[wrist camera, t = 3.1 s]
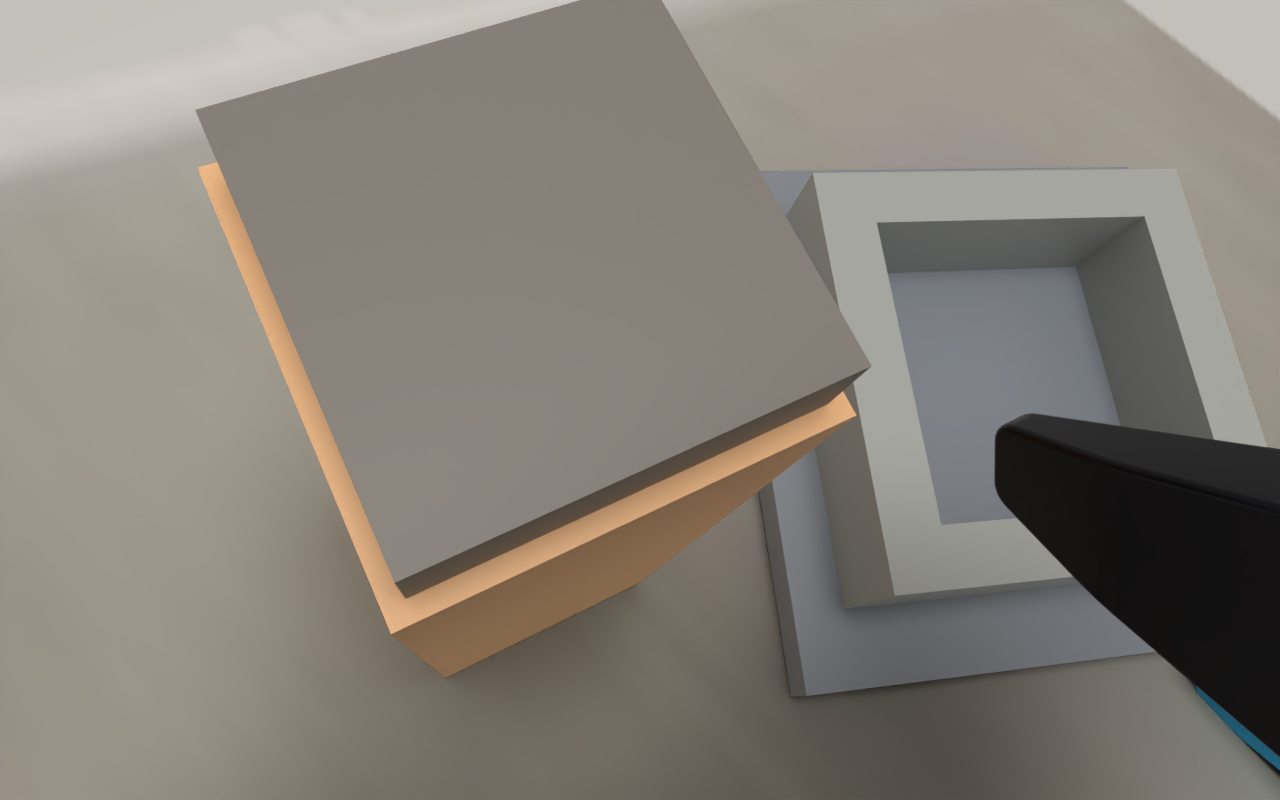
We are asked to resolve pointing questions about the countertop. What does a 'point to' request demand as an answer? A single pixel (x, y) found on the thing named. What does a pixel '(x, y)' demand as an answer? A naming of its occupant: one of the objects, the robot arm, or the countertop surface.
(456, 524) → the block
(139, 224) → the countertop surface
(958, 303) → the jig cradle
